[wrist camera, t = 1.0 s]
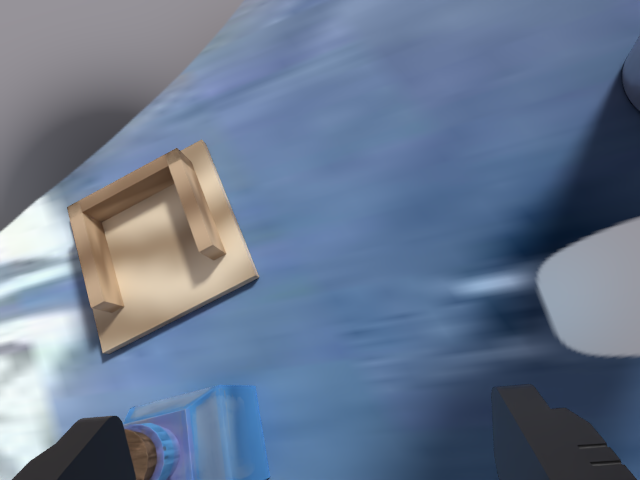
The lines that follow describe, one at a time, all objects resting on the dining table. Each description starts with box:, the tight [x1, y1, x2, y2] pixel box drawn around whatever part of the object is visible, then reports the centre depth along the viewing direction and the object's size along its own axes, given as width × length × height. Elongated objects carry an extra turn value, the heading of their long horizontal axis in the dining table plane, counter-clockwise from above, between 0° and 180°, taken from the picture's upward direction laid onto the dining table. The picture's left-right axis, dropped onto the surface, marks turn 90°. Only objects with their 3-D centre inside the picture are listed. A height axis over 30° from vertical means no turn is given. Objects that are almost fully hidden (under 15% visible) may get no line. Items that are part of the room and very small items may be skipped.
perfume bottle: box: [123, 385, 270, 480], centre depth 28 cm, size 6×6×12 cm
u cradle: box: [67, 140, 259, 354], centre depth 38 cm, size 14×14×3 cm
